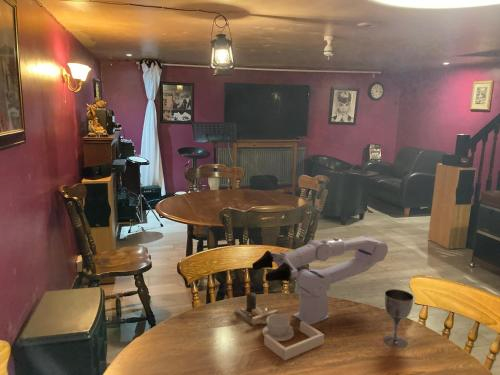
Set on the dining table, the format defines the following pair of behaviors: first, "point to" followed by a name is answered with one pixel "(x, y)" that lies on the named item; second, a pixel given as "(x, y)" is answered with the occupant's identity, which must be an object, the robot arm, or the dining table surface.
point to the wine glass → (397, 313)
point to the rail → (246, 315)
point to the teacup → (278, 327)
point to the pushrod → (255, 310)
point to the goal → (297, 348)
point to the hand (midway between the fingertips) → (259, 272)
